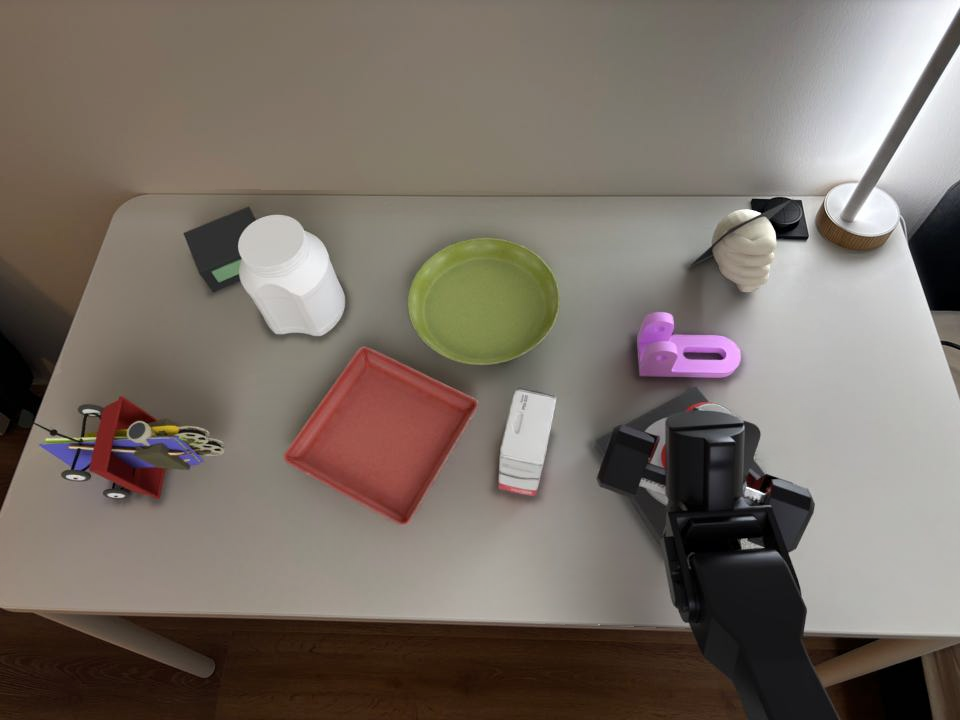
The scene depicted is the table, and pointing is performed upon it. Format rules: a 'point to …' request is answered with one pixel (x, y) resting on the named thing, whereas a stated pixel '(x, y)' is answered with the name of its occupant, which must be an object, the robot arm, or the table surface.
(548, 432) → the ink box
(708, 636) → the robot arm
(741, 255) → the decorative object
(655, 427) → the scale
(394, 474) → the plant saucer
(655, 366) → the bracket
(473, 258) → the saucer
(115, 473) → the toy cart
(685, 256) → the table surface
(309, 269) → the jar
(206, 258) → the scale display
